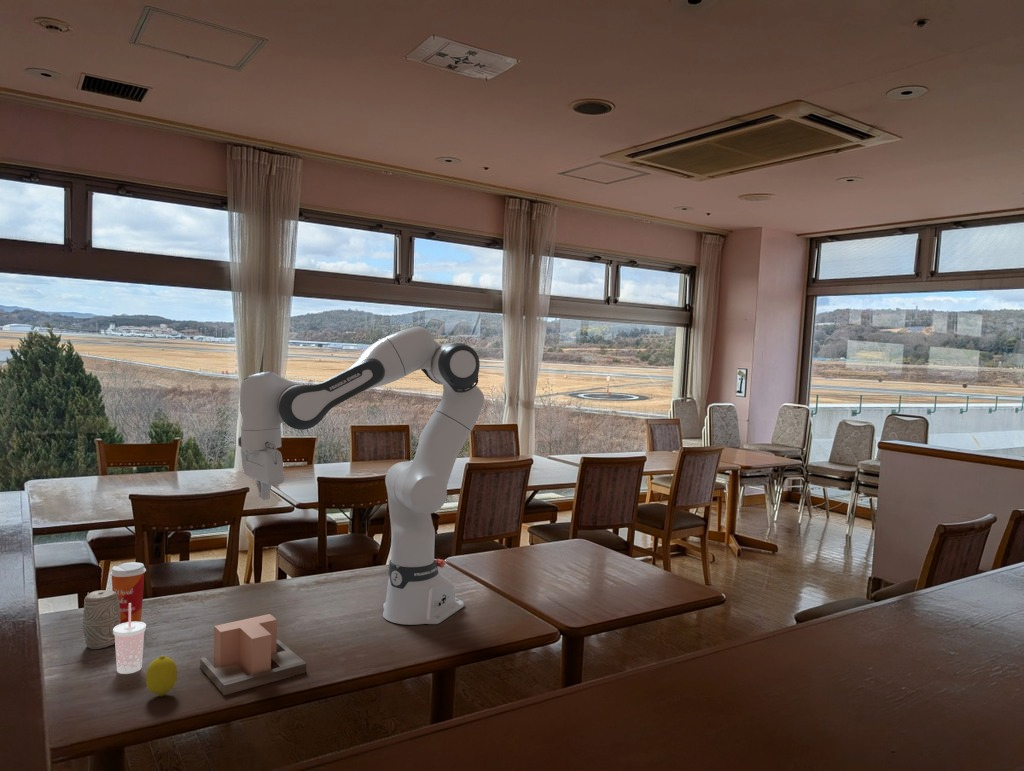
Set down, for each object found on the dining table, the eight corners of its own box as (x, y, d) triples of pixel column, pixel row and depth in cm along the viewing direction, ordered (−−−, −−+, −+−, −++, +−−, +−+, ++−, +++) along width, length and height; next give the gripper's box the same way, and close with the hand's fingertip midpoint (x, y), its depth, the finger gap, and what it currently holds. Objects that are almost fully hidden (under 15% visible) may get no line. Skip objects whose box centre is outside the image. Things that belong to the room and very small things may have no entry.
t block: (213, 667, 154) (214, 625, 153) (269, 653, 161) (269, 613, 161) (231, 687, 145) (232, 643, 145) (289, 671, 153) (289, 630, 152)
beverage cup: (147, 671, 151) (148, 605, 150) (114, 678, 147) (114, 610, 147) (144, 660, 156) (144, 596, 155) (111, 666, 152) (112, 601, 152)
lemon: (152, 689, 143) (153, 649, 143) (181, 689, 144) (182, 649, 143) (140, 703, 138) (141, 662, 137) (170, 702, 138) (171, 662, 138)
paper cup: (102, 626, 173) (102, 568, 172) (129, 615, 180) (129, 559, 179) (126, 631, 170) (127, 573, 169) (153, 620, 177) (153, 564, 177)
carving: (77, 646, 161) (77, 593, 161) (112, 636, 167) (112, 585, 167) (89, 654, 157) (90, 600, 157) (125, 644, 163) (125, 592, 163)
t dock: (200, 667, 153) (200, 658, 153) (278, 648, 164) (278, 639, 164) (224, 695, 142) (224, 685, 142) (306, 672, 153) (306, 663, 153)
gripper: (289, 443, 164) (292, 503, 165) (262, 436, 181) (264, 491, 182) (261, 446, 161) (264, 507, 161) (235, 438, 177) (238, 494, 178)
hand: (264, 498), depth 172 cm, fingers closed
